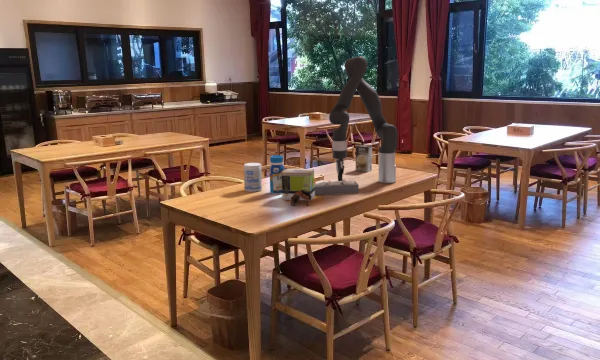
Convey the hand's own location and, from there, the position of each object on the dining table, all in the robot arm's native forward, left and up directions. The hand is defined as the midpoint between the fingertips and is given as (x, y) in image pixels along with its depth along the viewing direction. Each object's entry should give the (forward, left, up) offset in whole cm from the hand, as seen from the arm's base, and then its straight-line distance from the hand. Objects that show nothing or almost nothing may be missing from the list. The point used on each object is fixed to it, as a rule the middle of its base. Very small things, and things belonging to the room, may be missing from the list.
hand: (340, 180), depth 268 cm
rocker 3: (-4, 0, -2) cm, 5 cm away
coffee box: (-25, -50, -6) cm, 56 cm away
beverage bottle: (+33, -4, -6) cm, 34 cm away
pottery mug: (+24, +22, -6) cm, 33 cm away
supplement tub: (+46, -12, -6) cm, 48 cm away
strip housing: (+3, 0, -6) cm, 7 cm away
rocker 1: (+11, 0, -2) cm, 11 cm away
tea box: (+23, +9, -6) cm, 26 cm away
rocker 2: (+3, 0, -2) cm, 4 cm away
